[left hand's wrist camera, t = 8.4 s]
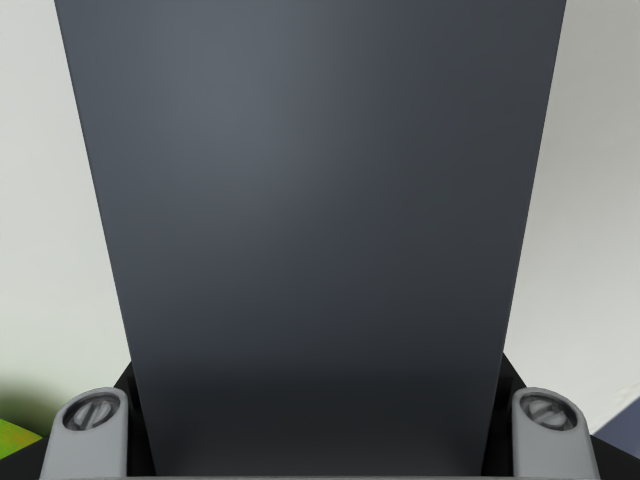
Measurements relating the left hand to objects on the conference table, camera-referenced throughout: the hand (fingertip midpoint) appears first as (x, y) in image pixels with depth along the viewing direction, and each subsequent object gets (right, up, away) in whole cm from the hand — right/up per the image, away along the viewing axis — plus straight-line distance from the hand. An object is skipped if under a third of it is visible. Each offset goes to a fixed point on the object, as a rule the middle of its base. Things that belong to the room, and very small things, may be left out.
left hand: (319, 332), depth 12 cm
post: (0, +29, -10) cm, 31 cm away
